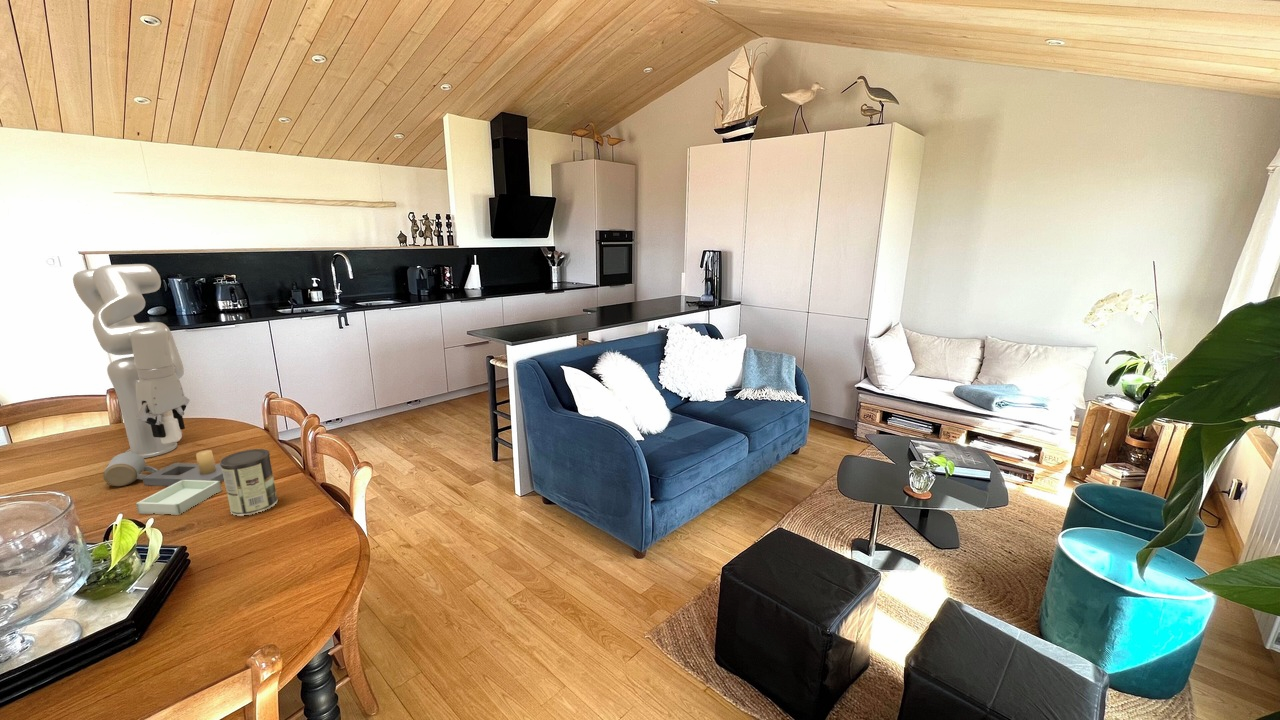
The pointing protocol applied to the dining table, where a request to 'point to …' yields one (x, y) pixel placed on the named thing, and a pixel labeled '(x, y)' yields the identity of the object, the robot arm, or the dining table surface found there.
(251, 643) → the dining table surface
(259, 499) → the coffee can
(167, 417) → the small white bottle
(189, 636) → the dining table surface
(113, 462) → the ceramic mug
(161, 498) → the tray
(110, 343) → the robot arm
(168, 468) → the socket block
